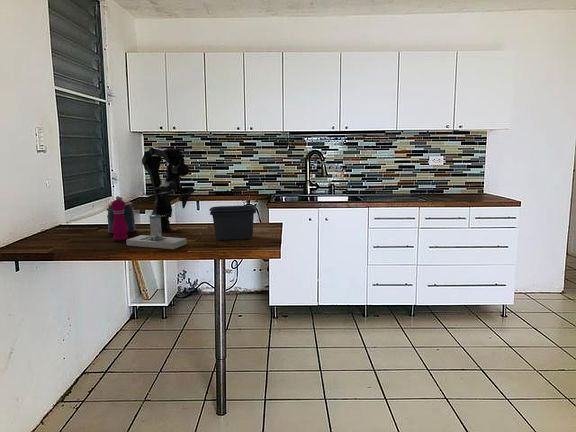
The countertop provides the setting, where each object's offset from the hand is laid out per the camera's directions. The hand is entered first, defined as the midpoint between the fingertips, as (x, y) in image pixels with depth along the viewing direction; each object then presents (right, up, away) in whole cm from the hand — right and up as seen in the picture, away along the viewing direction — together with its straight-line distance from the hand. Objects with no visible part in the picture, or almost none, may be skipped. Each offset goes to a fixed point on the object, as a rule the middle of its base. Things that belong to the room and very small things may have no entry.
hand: (175, 207), depth 220 cm
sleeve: (-4, -16, -19) cm, 25 cm away
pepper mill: (-24, -15, -6) cm, 29 cm away
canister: (-30, -12, +11) cm, 34 cm away
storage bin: (+29, -14, -6) cm, 33 cm away
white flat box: (-3, -16, -19) cm, 25 cm away
